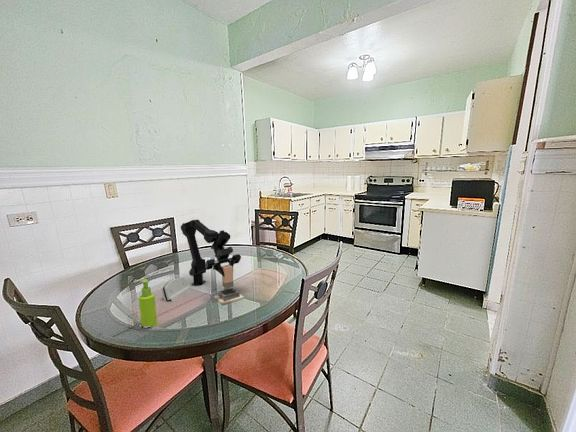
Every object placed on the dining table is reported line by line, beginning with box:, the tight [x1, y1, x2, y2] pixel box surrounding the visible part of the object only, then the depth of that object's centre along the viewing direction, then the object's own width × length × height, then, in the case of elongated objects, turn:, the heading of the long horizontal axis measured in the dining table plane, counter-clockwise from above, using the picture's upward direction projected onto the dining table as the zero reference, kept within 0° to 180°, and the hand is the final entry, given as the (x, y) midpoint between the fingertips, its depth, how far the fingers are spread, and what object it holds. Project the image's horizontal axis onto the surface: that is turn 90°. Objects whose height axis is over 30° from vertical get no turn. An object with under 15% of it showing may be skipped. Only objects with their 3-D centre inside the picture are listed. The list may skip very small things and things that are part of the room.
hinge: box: [160, 277, 192, 302], centre depth 139 cm, size 17×5×10 cm, turn 166°
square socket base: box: [213, 287, 245, 306], centre depth 133 cm, size 12×12×4 cm
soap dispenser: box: [138, 278, 158, 327], centre depth 108 cm, size 6×7×20 cm
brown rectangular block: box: [221, 264, 235, 290], centre depth 132 cm, size 4×4×11 cm
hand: (228, 275), depth 130 cm, fingers closed on brown rectangular block, 4 cm apart
